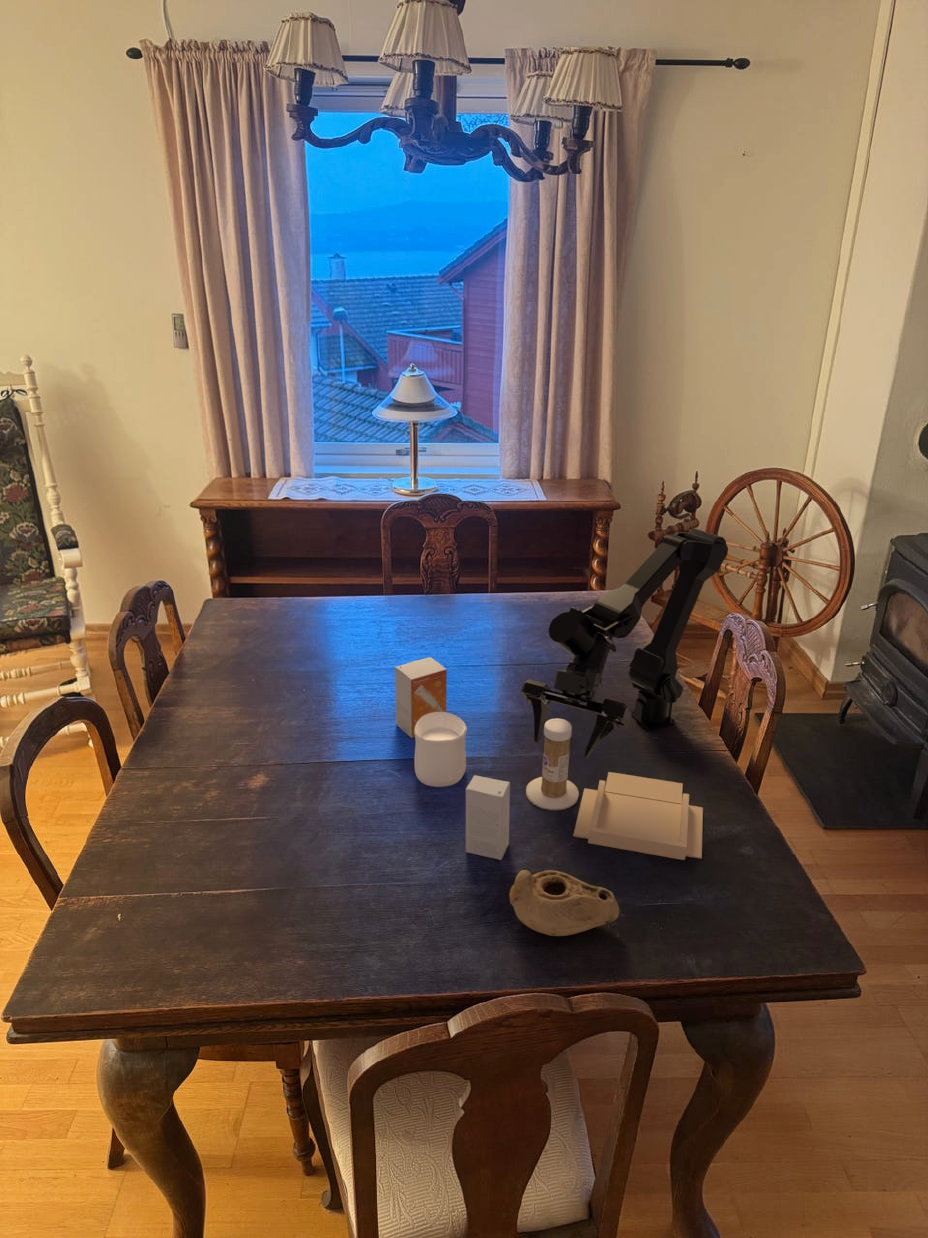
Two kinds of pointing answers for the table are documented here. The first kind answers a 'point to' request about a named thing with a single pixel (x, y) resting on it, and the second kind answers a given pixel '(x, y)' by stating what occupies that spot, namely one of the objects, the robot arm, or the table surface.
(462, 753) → the cup
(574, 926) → the oil lamp
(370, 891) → the table surface
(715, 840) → the table surface
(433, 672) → the small box
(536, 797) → the coaster
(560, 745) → the sprinkles bottle
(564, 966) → the table surface
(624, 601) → the robot arm
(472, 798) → the skincare box
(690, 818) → the carton
